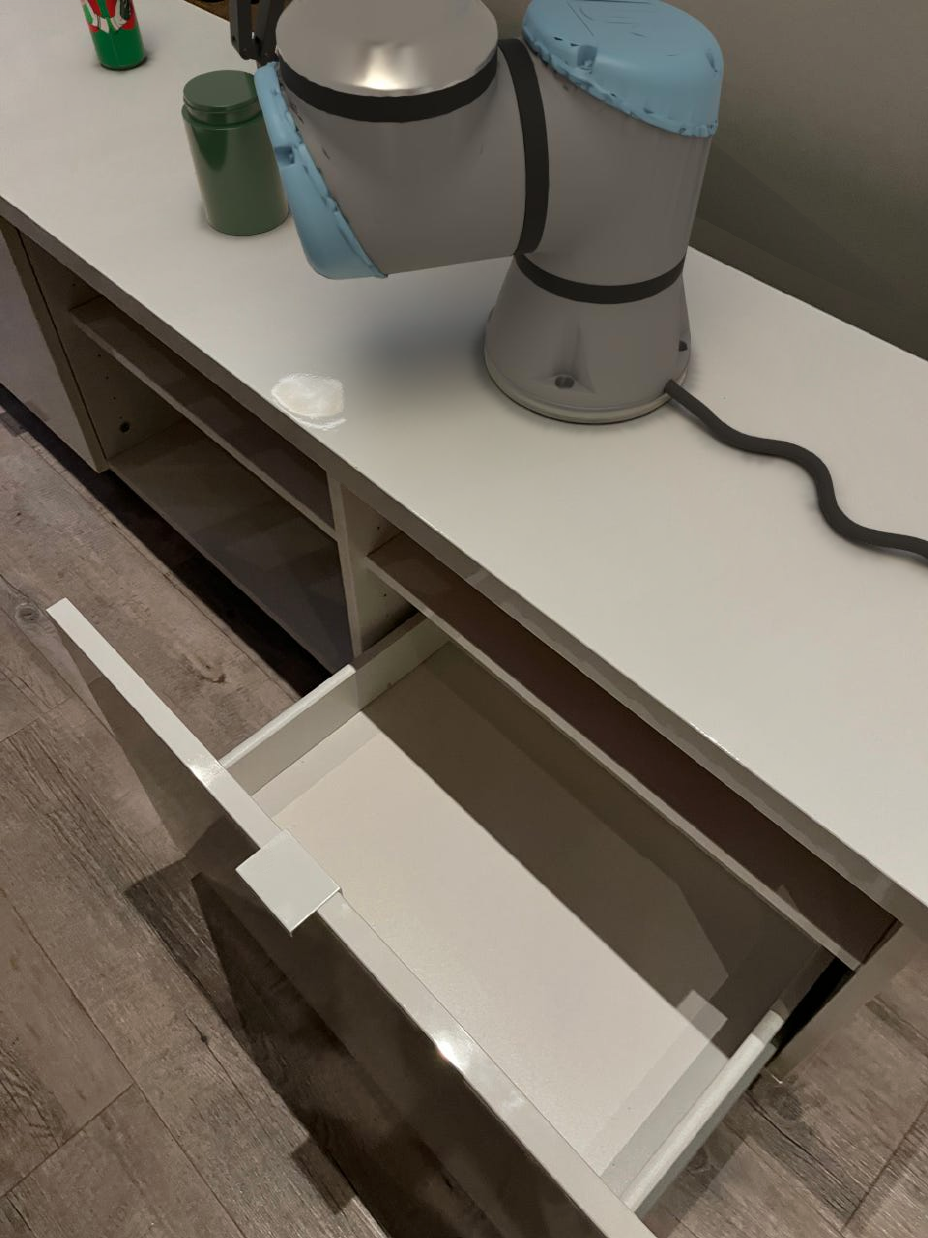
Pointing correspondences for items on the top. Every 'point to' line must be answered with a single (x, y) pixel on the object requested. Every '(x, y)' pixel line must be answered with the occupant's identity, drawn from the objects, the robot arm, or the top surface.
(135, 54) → the soda can
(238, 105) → the jar
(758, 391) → the top surface
